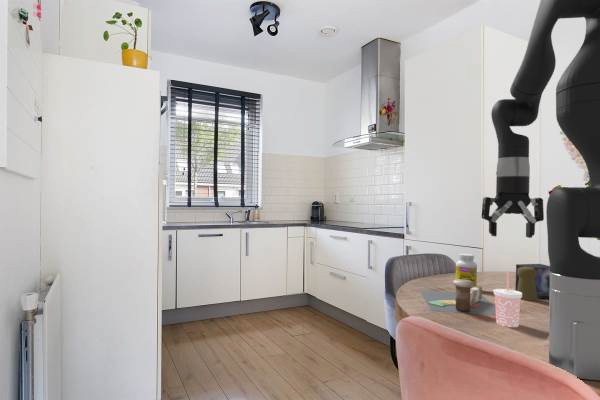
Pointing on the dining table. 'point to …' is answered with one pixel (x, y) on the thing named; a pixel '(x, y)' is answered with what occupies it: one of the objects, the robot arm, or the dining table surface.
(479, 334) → the dining table surface
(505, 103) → the robot arm
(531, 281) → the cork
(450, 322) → the dining table surface
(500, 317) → the beverage cup
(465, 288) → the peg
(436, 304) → the grey flat slab
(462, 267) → the supplement bottle
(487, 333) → the dining table surface
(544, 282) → the small box
